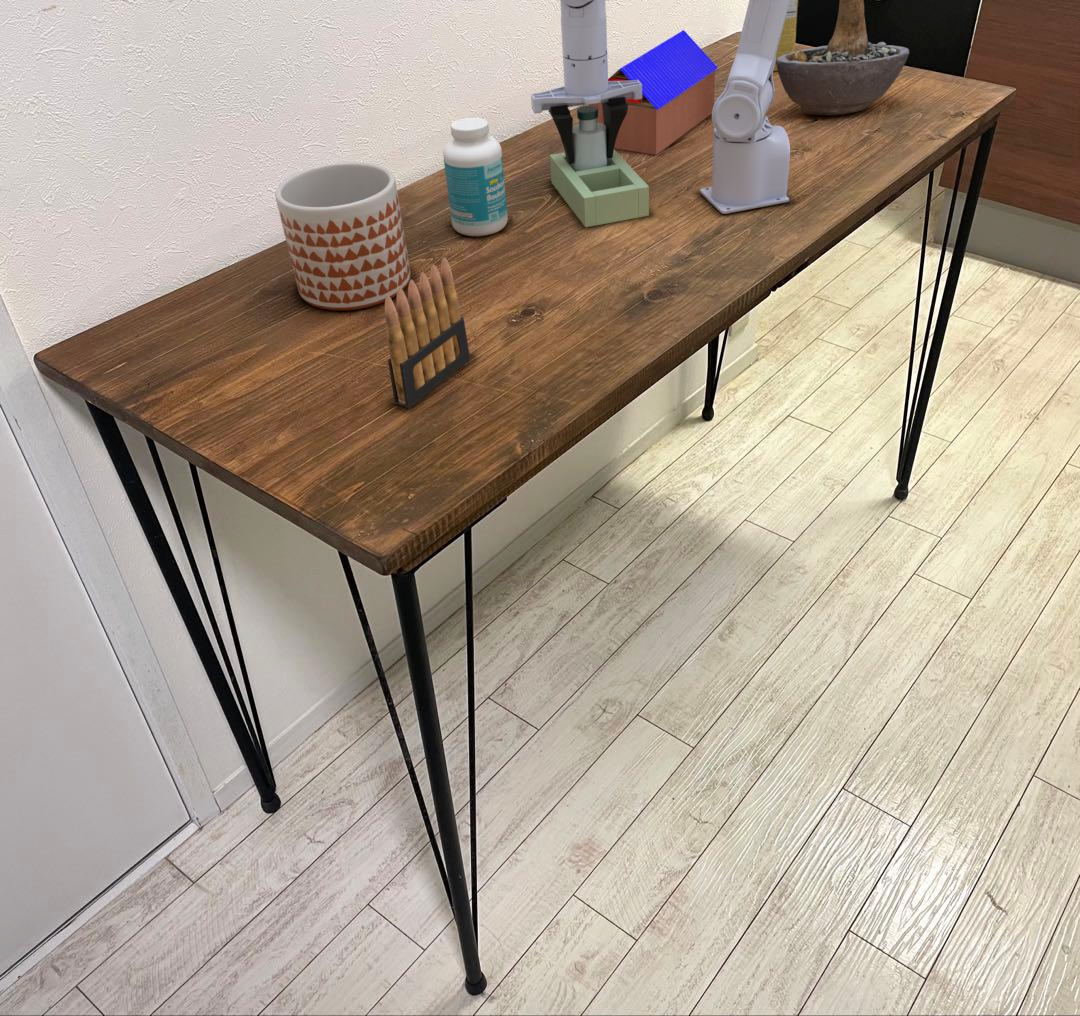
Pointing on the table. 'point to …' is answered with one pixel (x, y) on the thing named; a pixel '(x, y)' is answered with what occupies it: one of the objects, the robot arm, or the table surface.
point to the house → (665, 95)
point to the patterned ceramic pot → (344, 234)
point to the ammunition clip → (425, 336)
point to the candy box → (788, 32)
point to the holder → (601, 190)
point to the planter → (841, 68)
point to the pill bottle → (475, 179)
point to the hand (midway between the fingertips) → (589, 158)
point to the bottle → (589, 140)
